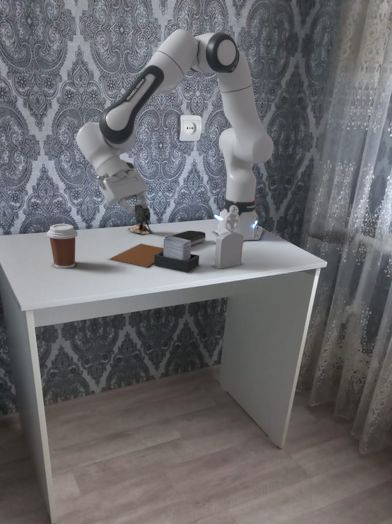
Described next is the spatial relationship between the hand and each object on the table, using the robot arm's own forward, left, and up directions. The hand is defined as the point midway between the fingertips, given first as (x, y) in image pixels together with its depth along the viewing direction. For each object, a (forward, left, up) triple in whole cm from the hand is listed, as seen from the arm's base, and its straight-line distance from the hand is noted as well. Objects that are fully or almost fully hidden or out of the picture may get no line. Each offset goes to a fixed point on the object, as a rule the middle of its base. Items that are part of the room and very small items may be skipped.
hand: (139, 209), depth 157 cm
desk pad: (-3, 0, -16) cm, 16 cm away
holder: (0, +14, -16) cm, 21 cm away
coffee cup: (+19, -16, -16) cm, 30 cm away
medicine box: (0, +14, -16) cm, 21 cm away
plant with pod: (-27, -15, -16) cm, 35 cm away
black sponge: (-23, +6, -16) cm, 29 cm away
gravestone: (-10, +28, -16) cm, 34 cm away
